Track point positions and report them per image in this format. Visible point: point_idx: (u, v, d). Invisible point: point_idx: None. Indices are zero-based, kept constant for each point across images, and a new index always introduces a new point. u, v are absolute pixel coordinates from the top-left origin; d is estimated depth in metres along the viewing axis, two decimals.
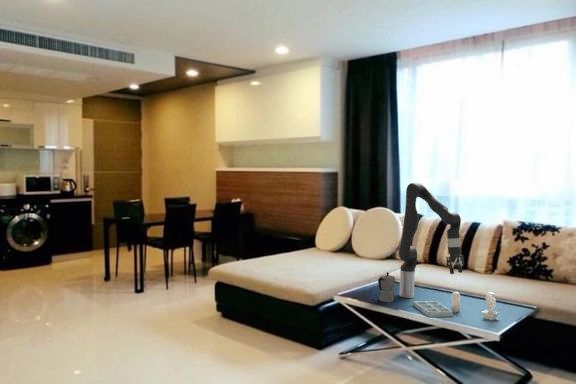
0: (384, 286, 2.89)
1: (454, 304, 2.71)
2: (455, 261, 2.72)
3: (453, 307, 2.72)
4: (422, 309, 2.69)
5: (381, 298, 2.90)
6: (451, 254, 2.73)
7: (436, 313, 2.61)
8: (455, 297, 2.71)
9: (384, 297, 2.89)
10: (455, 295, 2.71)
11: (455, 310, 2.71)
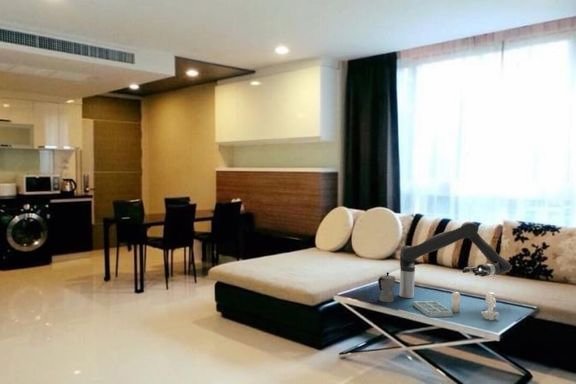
0: (384, 286, 2.89)
1: (454, 304, 2.71)
2: None
3: (453, 307, 2.72)
4: (422, 309, 2.69)
5: (381, 298, 2.90)
6: None
7: (436, 313, 2.61)
8: (455, 297, 2.71)
9: (384, 297, 2.89)
10: (455, 295, 2.71)
11: (455, 310, 2.71)
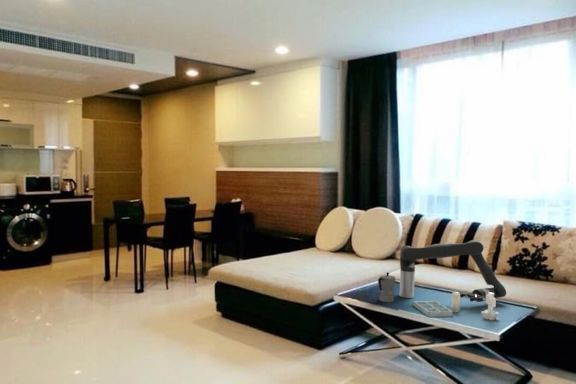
0: (384, 286, 2.89)
1: (454, 304, 2.71)
2: None
3: (453, 307, 2.72)
4: (422, 309, 2.69)
5: (381, 298, 2.90)
6: None
7: (436, 313, 2.61)
8: (455, 297, 2.71)
9: (384, 297, 2.89)
10: (455, 295, 2.71)
11: (455, 310, 2.71)
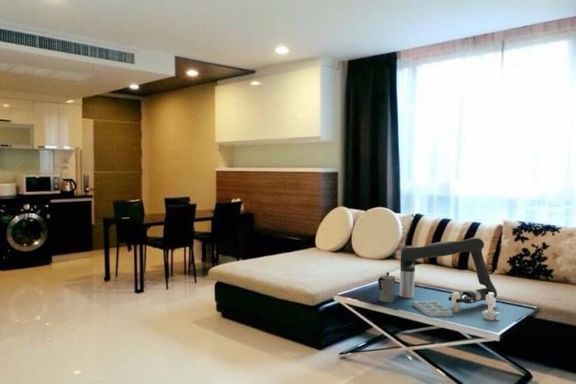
0: (384, 286, 2.89)
1: (454, 304, 2.71)
2: None
3: (453, 307, 2.72)
4: (422, 309, 2.69)
5: (381, 298, 2.90)
6: None
7: (436, 313, 2.61)
8: (455, 297, 2.71)
9: (384, 297, 2.89)
10: (455, 295, 2.71)
11: (455, 310, 2.71)
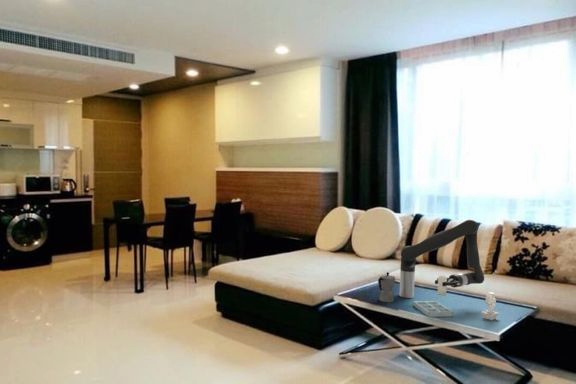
0: (384, 286, 2.89)
1: (440, 288, 2.66)
2: None
3: (439, 290, 2.66)
4: (422, 309, 2.69)
5: (381, 298, 2.90)
6: None
7: (436, 313, 2.61)
8: (441, 280, 2.65)
9: (384, 297, 2.89)
10: (441, 278, 2.65)
11: (441, 294, 2.66)
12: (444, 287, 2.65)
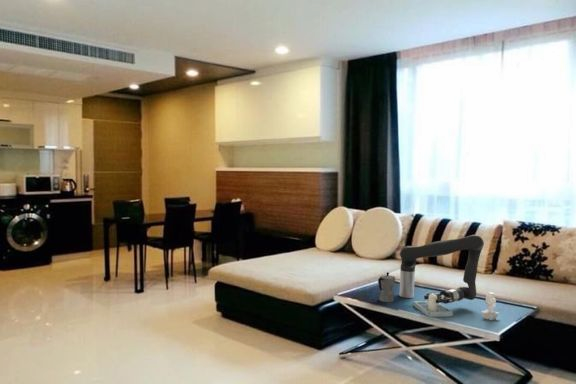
0: (384, 286, 2.89)
1: (431, 307, 2.63)
2: None
3: (430, 309, 2.63)
4: (422, 309, 2.69)
5: (381, 298, 2.90)
6: None
7: (436, 313, 2.61)
8: (432, 299, 2.63)
9: (384, 297, 2.89)
10: (432, 297, 2.63)
11: None
12: (434, 306, 2.63)
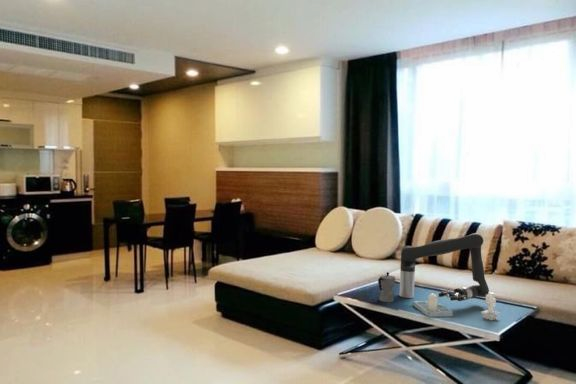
0: (384, 286, 2.89)
1: (431, 307, 2.63)
2: None
3: (430, 309, 2.63)
4: (422, 309, 2.69)
5: (381, 298, 2.90)
6: None
7: (436, 313, 2.61)
8: (432, 299, 2.63)
9: (384, 297, 2.89)
10: (432, 297, 2.63)
11: None
12: (434, 306, 2.63)
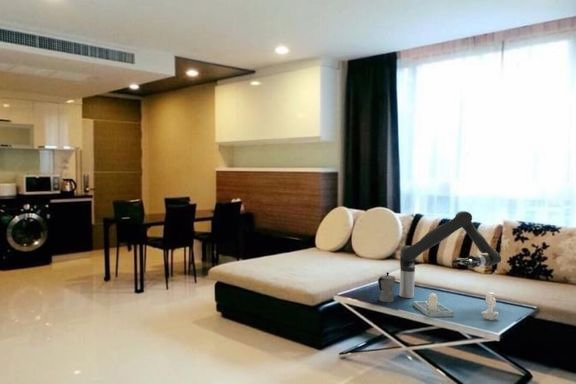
0: (384, 286, 2.89)
1: (431, 306, 2.63)
2: None
3: (430, 309, 2.63)
4: (422, 309, 2.69)
5: (381, 298, 2.90)
6: None
7: (436, 313, 2.61)
8: (432, 299, 2.63)
9: (384, 297, 2.89)
10: (432, 297, 2.63)
11: None
12: (434, 306, 2.63)
